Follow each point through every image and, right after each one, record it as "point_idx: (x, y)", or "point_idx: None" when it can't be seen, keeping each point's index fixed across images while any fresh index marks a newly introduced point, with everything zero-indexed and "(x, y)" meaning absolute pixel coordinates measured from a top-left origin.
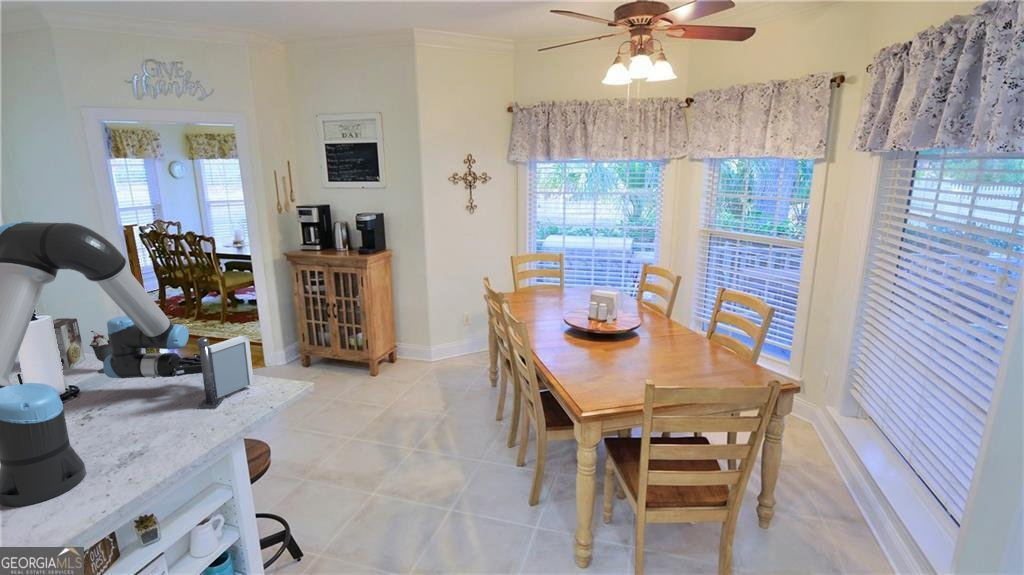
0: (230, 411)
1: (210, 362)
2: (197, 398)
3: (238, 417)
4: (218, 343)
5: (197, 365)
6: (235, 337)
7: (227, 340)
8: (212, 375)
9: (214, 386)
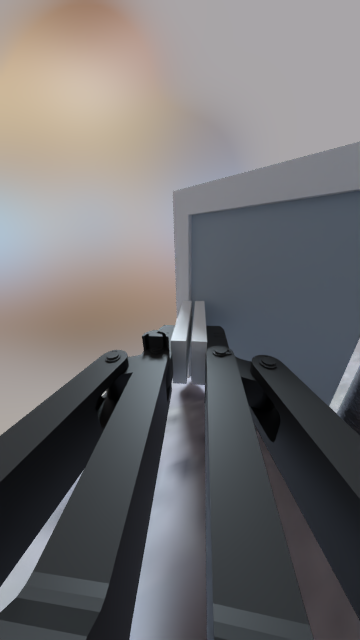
0: (337, 389)
1: (230, 370)
2: (323, 618)
3: (350, 368)
4: (334, 152)
5: (357, 462)
6: (211, 181)
7: (262, 170)
8: (351, 355)
9: (331, 399)
